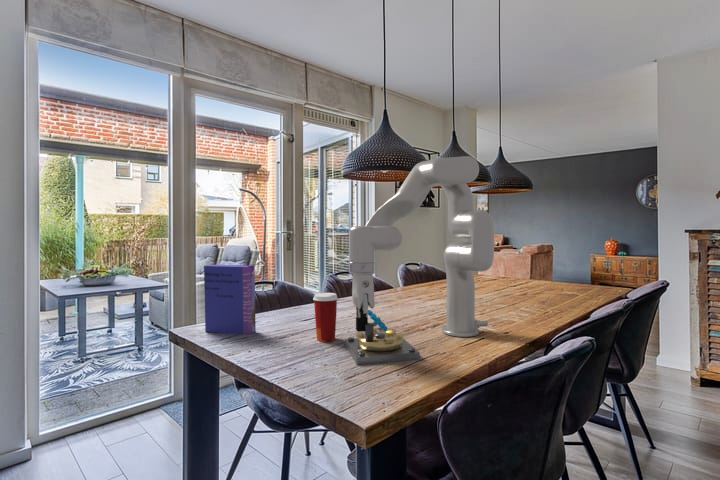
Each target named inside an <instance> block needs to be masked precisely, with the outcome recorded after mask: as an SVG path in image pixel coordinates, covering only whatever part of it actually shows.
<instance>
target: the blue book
mask: <svg viewBox="0 0 720 480" xmlns="http://www.w3.org/2000/svg"><path fill="white" fill-rule="evenodd" d="M255 272H256V271H255V265H252V264H251V265H250V264H247V265H245V264H241V265H239V264H206V265H203V280H204V281H203V283H204V286H203V287H204V319H205V320H204V323H205V325H204V326H205V333H214V334H216V333H217V334H228V335H241V336H242V335H243V336H250V335H252V334H254V333H256V329H257V328H256V287H255V286H256V281H255V280H256V275H255Z"/></svg>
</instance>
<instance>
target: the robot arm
mask: <svg viewBox="0 0 720 480" xmlns="http://www.w3.org/2000/svg"><path fill="white" fill-rule="evenodd" d="M479 172H480V165H479V163H478V161H477V160H476V159H475V157H472V156H469V155H464V156H452V157H439V158H438V157H437V158H433V159H428V160H427V159H426V160H423V161H420V162H418V163H416V164H415V165H414V166H413V168H412V169H411V170H410V172H409V173H408V175H407V176H406V178H405V179H404V181H403V183H402V184H401V185H400V187H399V189H398V190H397V191H396V192H395V194H394V195H393V196H391V198H389V199H388V200H387V201H386V202H385V203H384V204H383V205H381V206H380V207H379V208H378V209H377V210H376V211H375V212H374V213H373V214H372V215H371V217H370V218H369V219H368V221H367V222H366V224H365V225H356V226H355V225H354V226H351V227H350V229H349V235H348V236H349V237H348V238H349V241H348V242H349V244H348V247H349V248H348V250H349V251H348V252H349V253H348V256H349V258H348V261H349V263H348V265H349V266H348V270H349V272H348V273H349V274H350V275H352V278H351V279H352V281H351V282H352V284H351V286H352V288H351V295H352V296H351V297H352V300H351V301H352V304H353V305H354V306H355V315H356V317H355V330H356V331H357V333H358V332H365V323H369V317H368V316H369V315H368V310H369V307H370V309H372V310H373V309H375V304H376V303H375V284H374V275H375V274H376V250H377V251H382V252H383V251H385V252H386V251H387V252H390V251H394V250H396V249H398V248H399V247H400V246H401V244H402V242H403V234H402V232H401V230H400V229H399V228H397V227H395V226H393V225H394V224H395V223H397V222H398V221H399V220H402V219H403V218H406V217H407V216H410V215H412V214H413V213H415V212H417V211H418V210H419V209H420V207H421V206H422V204H423V202H424V201H425V200H426V198H427V195H428V194H429V193H430V191H431V189H432V188H434V187H440V188H442V189H443V191H444V192H445V195H446V198H447V228H448V229H447V230H448V233H449V234H450V236H451V237H454V238H458V239H471V242H470V241H455V242H451V243H449V244H448V245H447V246H446V247H445V249H444V251H443V261H444V266H445V272H446V273H445V274H446V325H444V326H443V327H442V328H441V332H442V333H444V334H445V335H448V336H453V337H460V338H462V337H463V338H464V337H465V338H466V337H467V338H469V337H470V338H471V337H475V336H478V335H479V334H480V329H479V328H481V327H488V324H489V323H488V321H487V320H480V319H479V320H478V319H477V318H476V317H475V316H476V315H475V313H476V312H475V310H476V309H475V308H476V307H475V303H476V302H475V301H476V299H475V297H476V296H475V294H476V293H475V291H476V282H475V278H474V275H473V273H472V272H482V273H483V272H487V271H489V269H491V267H492V266H493V263H494V258H495V225H494V224H495V223H494V220H493V218H492V216H491V214H490V213H489V212H487V211H486V210H483V209H474V197H473V192H472V190H471V189H470V187H469V186H468V183H472V182H474V181H475V180H476V179H477V178H478V176H479V174H480V173H479ZM475 318H476V319H475Z"/></svg>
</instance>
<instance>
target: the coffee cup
mask: <svg viewBox="0 0 720 480" xmlns="http://www.w3.org/2000/svg"><path fill="white" fill-rule="evenodd" d="M338 299H339V298H338V295H337V293H334V292H319V293H316V294H314V296H313V299H312V300H313V304H314V317H315V318H314V319H315V333H316V334H315V335H316V341H318V342H320V343H329V342H330V343H331V342H333V341H335V340H336V330H337V329H336V328H337V326H336V325H337V309H338V305H337V304H338Z"/></svg>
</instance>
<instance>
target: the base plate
mask: <svg viewBox="0 0 720 480" xmlns="http://www.w3.org/2000/svg"><path fill="white" fill-rule="evenodd" d="M344 346H345V348H346V349H347V351H348V353H349V355H350V356H351V357H352V359H353V360H354V362H355V364H356V365H369V364H381V363H391V362H392V363H393V362H403V361H417V360H421V357H420V355H421V354H420V351H419V350H418V349H416V348H415V347H414V346H413V345H412V344H411V343H409V342H408V341H407V340H406V339H405V338H403V339H402V346H401V347H400V348H398V349H395V350H390V351H371V350H366V349H363V348H361V347H359V346H358V337H356V338H355V337H348V338H345V339H344Z"/></svg>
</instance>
